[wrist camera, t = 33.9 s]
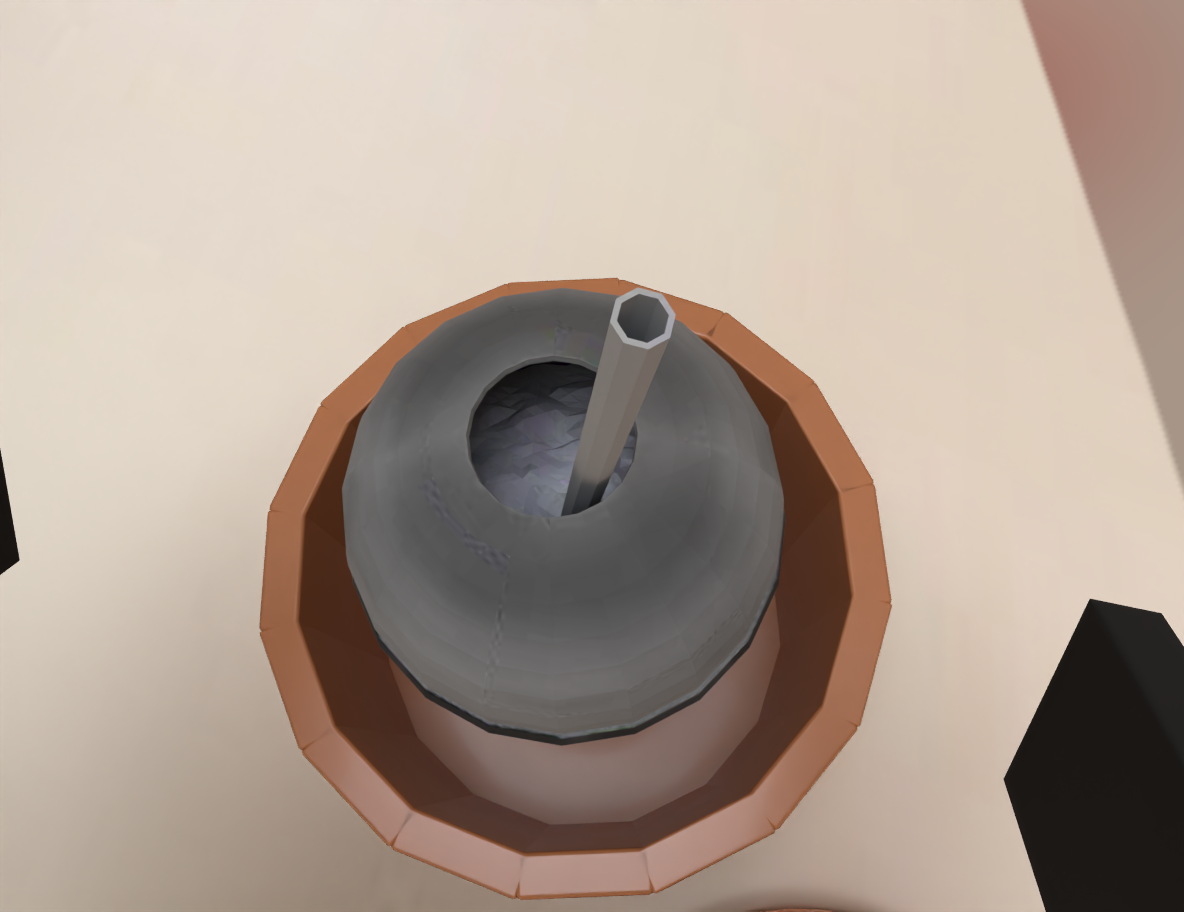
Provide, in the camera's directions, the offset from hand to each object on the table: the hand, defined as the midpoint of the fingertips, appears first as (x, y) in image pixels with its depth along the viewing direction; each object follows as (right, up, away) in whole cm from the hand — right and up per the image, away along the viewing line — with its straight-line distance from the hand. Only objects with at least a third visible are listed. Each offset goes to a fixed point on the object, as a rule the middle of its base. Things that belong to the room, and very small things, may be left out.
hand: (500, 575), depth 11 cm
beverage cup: (+1, -3, +15) cm, 16 cm away
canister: (+1, -3, +16) cm, 16 cm away
